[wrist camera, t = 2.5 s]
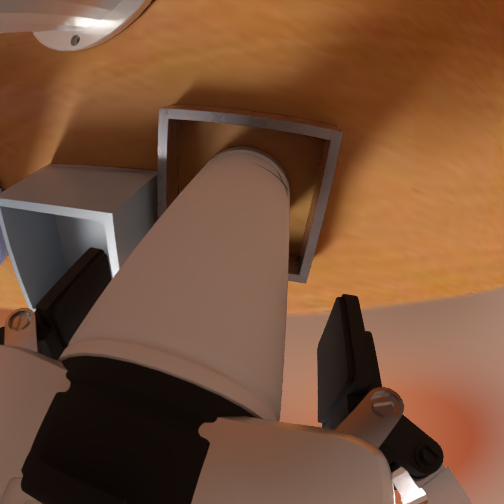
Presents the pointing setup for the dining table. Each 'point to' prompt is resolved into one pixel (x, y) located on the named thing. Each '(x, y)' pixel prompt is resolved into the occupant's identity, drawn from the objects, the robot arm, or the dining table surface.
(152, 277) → the travel mug
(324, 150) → the metal collar
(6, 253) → the water jug
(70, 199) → the grey bin
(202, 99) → the dining table surface
